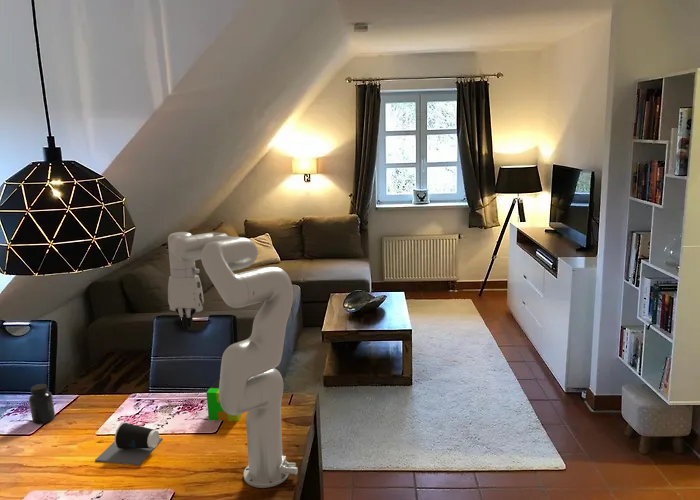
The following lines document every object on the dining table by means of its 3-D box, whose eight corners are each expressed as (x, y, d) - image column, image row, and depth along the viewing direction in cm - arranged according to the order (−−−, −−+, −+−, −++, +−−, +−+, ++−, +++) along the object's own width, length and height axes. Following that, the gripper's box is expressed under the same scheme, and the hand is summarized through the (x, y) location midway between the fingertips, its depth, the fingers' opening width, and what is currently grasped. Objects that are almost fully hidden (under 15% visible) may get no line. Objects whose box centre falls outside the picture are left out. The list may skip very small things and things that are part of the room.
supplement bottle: (48, 412, 200) (44, 380, 197) (59, 418, 196) (54, 385, 193) (28, 421, 195) (23, 388, 192) (38, 427, 191) (33, 393, 188)
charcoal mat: (162, 439, 182) (162, 438, 182) (139, 465, 168) (139, 463, 168) (121, 436, 184) (121, 434, 184) (95, 461, 171) (95, 459, 171)
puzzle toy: (246, 406, 202) (244, 380, 200) (237, 421, 192) (236, 393, 190) (218, 405, 203) (216, 379, 201) (208, 420, 193) (206, 392, 191)
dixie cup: (162, 422, 178) (130, 419, 180) (148, 429, 170) (114, 425, 172) (161, 448, 177) (128, 445, 180) (147, 456, 170) (113, 452, 172)
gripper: (210, 269, 182) (214, 325, 186) (166, 268, 185) (171, 323, 189) (200, 276, 175) (205, 333, 179) (154, 274, 178) (160, 331, 182)
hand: (187, 328), depth 184 cm, fingers closed
